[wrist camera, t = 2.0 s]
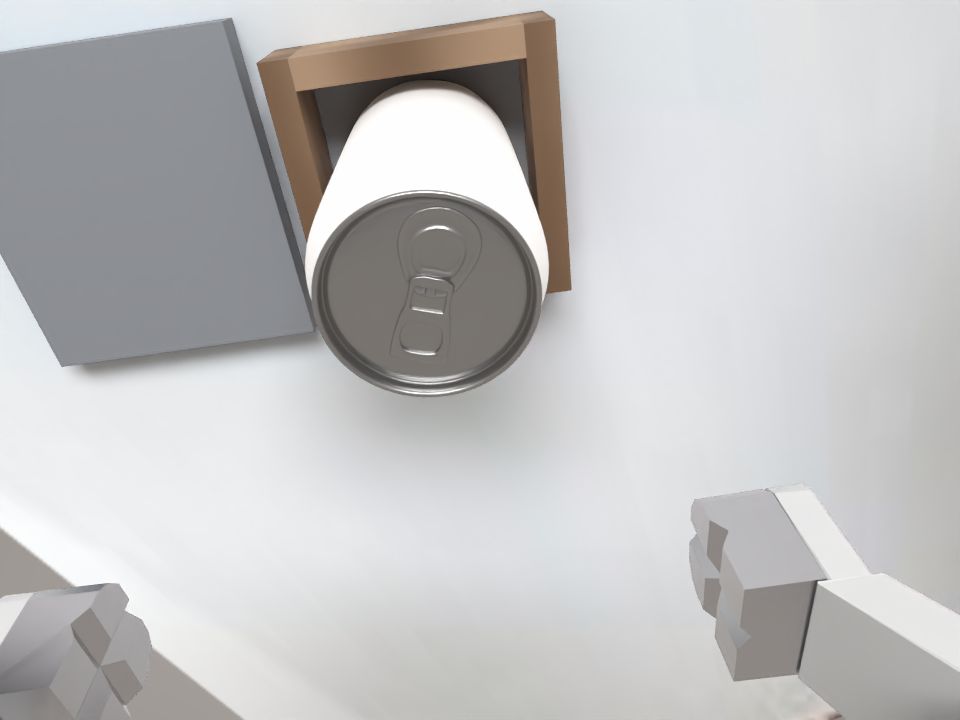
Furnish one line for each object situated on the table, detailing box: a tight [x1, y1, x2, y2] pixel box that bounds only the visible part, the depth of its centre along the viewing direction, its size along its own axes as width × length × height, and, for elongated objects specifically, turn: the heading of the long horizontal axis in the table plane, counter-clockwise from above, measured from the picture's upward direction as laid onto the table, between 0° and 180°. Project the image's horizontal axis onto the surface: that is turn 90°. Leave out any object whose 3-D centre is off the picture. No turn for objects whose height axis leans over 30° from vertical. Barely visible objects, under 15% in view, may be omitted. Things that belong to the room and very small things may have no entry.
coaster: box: [0, 18, 317, 367], centre depth 26 cm, size 11×12×1 cm
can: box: [305, 80, 549, 397], centre depth 22 cm, size 6×6×12 cm
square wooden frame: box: [257, 11, 571, 294], centre depth 25 cm, size 10×10×3 cm
